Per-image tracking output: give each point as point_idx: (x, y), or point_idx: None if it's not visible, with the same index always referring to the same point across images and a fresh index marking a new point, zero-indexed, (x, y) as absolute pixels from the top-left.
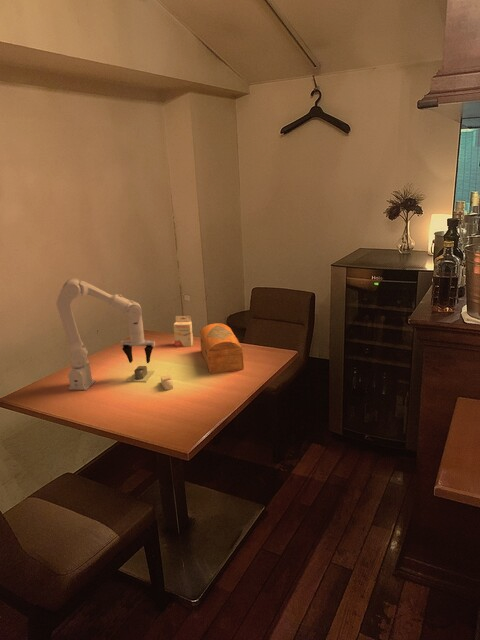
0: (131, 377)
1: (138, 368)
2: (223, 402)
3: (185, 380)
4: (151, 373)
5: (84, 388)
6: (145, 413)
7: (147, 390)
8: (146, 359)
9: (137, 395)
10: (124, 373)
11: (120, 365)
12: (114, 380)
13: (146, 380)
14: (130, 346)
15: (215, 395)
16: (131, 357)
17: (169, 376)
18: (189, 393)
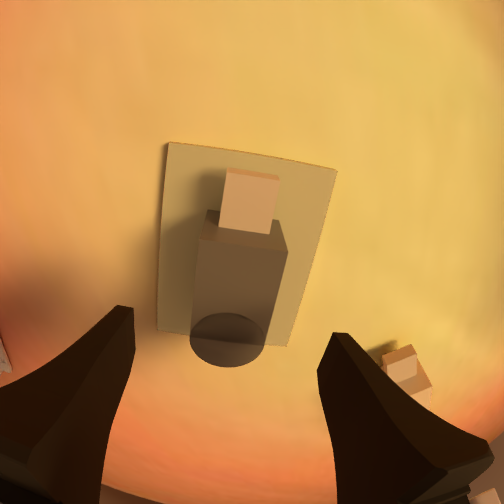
0: (162, 280)
1: (215, 304)
2: (489, 431)
3: (481, 325)
4: (315, 224)
5: (3, 368)
6: (301, 492)
7: (300, 414)
8: (326, 410)
9: (259, 441)
10: (77, 175)
11: (16, 17)
12: (64, 292)
13: (287, 338)
14: (62, 483)
15: (496, 410)
16: (117, 356)
17: (428, 399)
18: (448, 415)
